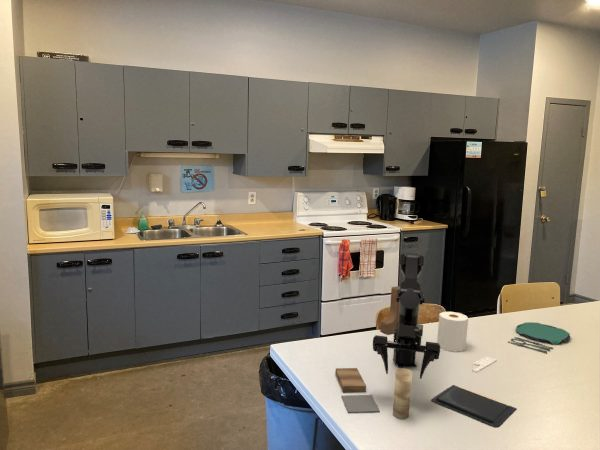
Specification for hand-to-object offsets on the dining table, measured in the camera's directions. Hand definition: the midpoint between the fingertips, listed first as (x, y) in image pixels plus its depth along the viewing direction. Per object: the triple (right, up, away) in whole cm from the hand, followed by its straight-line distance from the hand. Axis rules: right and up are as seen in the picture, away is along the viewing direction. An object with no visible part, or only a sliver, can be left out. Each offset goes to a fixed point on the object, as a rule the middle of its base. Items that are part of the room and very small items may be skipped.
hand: (403, 375), depth 135 cm
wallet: (+21, -11, +5) cm, 25 cm away
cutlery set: (+67, -4, +60) cm, 90 cm away
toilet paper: (+28, -4, +48) cm, 56 cm away
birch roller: (-1, -10, -1) cm, 10 cm away
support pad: (-12, -9, +3) cm, 15 cm away
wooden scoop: (+8, -1, +62) cm, 62 cm away
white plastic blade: (+34, -7, +33) cm, 48 cm away
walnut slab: (-13, -7, +16) cm, 22 cm away
